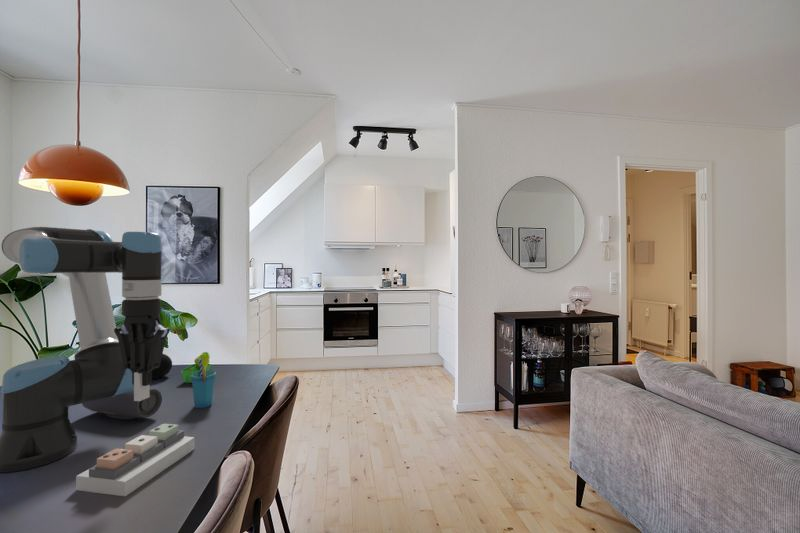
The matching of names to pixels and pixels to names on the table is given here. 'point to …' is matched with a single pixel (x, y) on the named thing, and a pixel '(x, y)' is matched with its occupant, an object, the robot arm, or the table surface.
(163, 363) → the decorative ball
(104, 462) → the three dot tile
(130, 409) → the bluetooth speaker
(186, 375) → the small green plant
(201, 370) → the cup
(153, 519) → the table surface
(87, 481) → the tile tray
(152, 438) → the one dot tile
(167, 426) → the two dot tile
